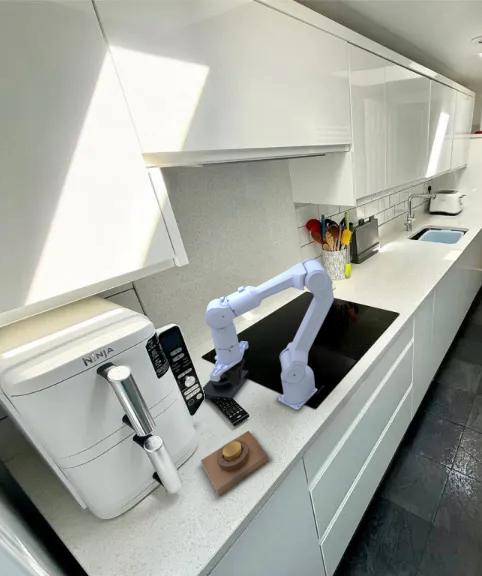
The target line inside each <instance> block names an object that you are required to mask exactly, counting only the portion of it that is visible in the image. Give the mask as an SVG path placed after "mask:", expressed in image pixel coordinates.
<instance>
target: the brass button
mask: <svg viewBox="0 0 482 576" xmlns="http://www.w3.org/2000/svg"><path fill="white" fill-rule="evenodd" d="M229 442H230V441H229ZM229 442H227V443H228V444H227V443H226V444H227V445H226V444H225V445H226V446H225V447H224V448H223V455H224V459H225V460H226V461H234V460H236V459H237V458H238V457H239V456H240V455H241V453H242V449H241V445H240V443H239V442H236V441H233V442H230V443H229Z"/></svg>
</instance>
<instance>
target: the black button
mask: <svg viewBox="0 0 482 576" xmlns="http://www.w3.org/2000/svg"><path fill="white" fill-rule="evenodd" d="M226 380H228V378H227V377H226V376H225V375H224V374H222V375H221V376H220V380H219V381H218V382H223V381H226Z"/></svg>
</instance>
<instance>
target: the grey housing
mask: <svg viewBox="0 0 482 576" xmlns="http://www.w3.org/2000/svg"><path fill="white" fill-rule="evenodd" d="M249 377H250V372H249V370H245V369H242V375H241V383H240V384H239V385H238V386H236V385H232V384H231V383H230V381H229V380H226V381H223V382H218V381H211V379H210V378H209V380H208V381H207V382H206V383H205V385H204V386H203V387H202V388H203V390H204V394H205V399H204V400H210V401H217V402H222V403H230V402H231V401H232V399H234V397H235V395H237V393H238V392H239V390H240V389H241V388H242V387H243V385H244V384H245V383H246V381H247V380H248V378H249ZM212 397H213V398H212ZM217 398H225V399H229V398H230V399H229V400H224V399H217Z"/></svg>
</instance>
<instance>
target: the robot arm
mask: <svg viewBox="0 0 482 576" xmlns="http://www.w3.org/2000/svg"><path fill="white" fill-rule="evenodd" d="M333 284H334V282H333V280H332V278H331V277H330V275H329V273H328V272H327V270H326V269H325V267H324V266H323V264H322V262H321V261H320V260H318V259H316V258H307V259H305V260H304V261H302V262H298V263H296V264H294V265H293V266H292V267H291V268H289V269H287V270H285V271H283V272H281V273H280V274H277V275H276V276H274V277H272V278H271V279H269V280H267V281H265V282H262V283H261V284H260V285H258V286H252V285H248V286H245V287H244V286H243V285H242V286H240V287H238V288H237V291H235V292H232V293H231V294H228V295H227V296H224V295H223V296H221V297H219V298H214V299H212V300H211V301H209V303H208V304H207V307H206V311H205V316H204V320H205V323H206V325H207V326H208V327H209V329H210V335H211V338H212V343H213V346H214V350H215V353H216V355H215V356H214V360H215V364H214V366H213V369H212V370H211V372H210V373H209V380H210V379H211V381H219V380H220V376H221V375H222V374H224V375H225V376H226V377H227V378H228V380H229V381H230V383H231V384H232V385H236V386H238V385H239V384H240V383H241V375H242V370H244V369H243V368H244V366H245V363H246V360H245V358H244V357H243V356H244V354H245V350H248V348H249V342H248V341H243V340H241V341H240V342H239V337H238V334H237V330H236V325H235V323H234V319H236V318H238V317H240V316H242V315H244V314H247V313H248V312H250V311H252V310H254V309H256V308H259V307H260V306H261V303H262V301H263V300H264V299H266V298H269V297H271V296H274V295H276V294H279V293H281V292H283V291H285V290H288V289H290V288H294V289H296V290H300V291H305V287H306V289H307V291H308V292H310V293H311V294H312V295H313V298H312V300H311V302H310V303H309V306H308V308H307V310H306V312H305V315H304V316H303V319H302V321H301V323H300V326H299V327H298V329H297V331H296V333H295V336H294V338H293V340H292V341H291V342H289V343H288V344H287V346H286V348H284V349H283V350H282V351H281V352H280V354H279V361H280V367H281V373H280V380H281V386H282V392H283V394H282V395H280V396H279V397H278V399H277V400H278V402H280V403H283V404H284V405H286V406H288V407H290V408H292V409H294V410H296V411H298V410H300V409H301V408H302V407H303V406H304V405H305V404H306V403H307V402H308V401H309V400H310V399H311V398H312V397H313V396H314V395H315V393H317V392H318V388H316V384H315V375H314V371H313V369H312V368H311V367H310V365H308V361H309V359H308V358H309V351H310V350H311V347H312V345H313V343H314V341H315V339H316V337H317V335H318V333H319V331H320V329H321V327H322V325H323V324H324V321H325V320H326V319H325V318H326V317H327V315H328V313H329V311H330V308H331V307H332V304H333V302H334V299H335V296H334V287H333Z"/></svg>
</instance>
